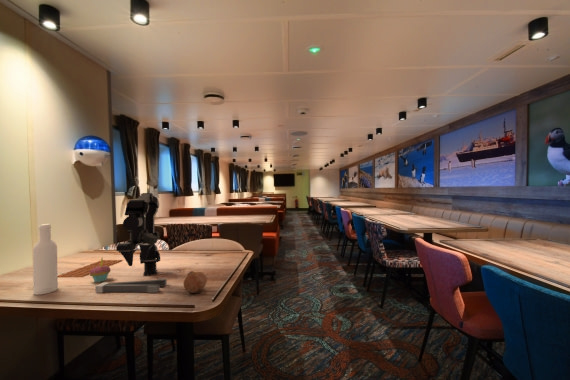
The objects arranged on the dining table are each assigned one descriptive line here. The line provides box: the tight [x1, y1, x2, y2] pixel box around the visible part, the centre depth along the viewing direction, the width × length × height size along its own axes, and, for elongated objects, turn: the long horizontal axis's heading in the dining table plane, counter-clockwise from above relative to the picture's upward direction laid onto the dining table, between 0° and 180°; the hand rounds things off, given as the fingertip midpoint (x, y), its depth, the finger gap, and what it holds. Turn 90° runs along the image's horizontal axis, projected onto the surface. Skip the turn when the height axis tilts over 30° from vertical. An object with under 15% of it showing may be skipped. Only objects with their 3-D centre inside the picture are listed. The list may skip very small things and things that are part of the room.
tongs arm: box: [109, 278, 168, 287], centre depth 111 cm, size 24×2×3 cm, turn 98°
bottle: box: [32, 223, 59, 296], centre depth 108 cm, size 8×8×30 cm
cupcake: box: [89, 257, 112, 283], centre depth 121 cm, size 9×8×12 cm
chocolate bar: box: [57, 259, 124, 279], centre depth 141 cm, size 14×30×1 cm, turn 177°
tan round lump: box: [183, 270, 208, 294], centre depth 105 cm, size 10×9×10 cm
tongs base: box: [94, 281, 161, 294], centre depth 107 cm, size 28×5×3 cm, turn 88°
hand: (138, 263), depth 107 cm, fingers open, 9 cm apart
